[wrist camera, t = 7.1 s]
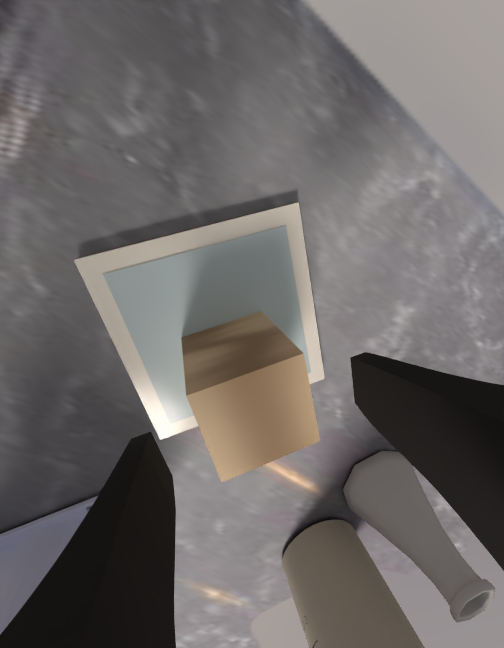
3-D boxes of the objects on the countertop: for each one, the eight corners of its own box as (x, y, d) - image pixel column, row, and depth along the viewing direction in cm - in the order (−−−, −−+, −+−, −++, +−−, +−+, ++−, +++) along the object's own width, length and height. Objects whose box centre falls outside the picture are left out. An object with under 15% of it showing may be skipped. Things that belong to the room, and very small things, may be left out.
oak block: (206, 404, 18) (221, 482, 13) (181, 337, 16) (186, 395, 11) (277, 377, 19) (320, 441, 13) (261, 311, 17) (303, 353, 12)
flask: (345, 457, 25) (444, 591, 16) (411, 440, 27) (535, 552, 18) (337, 513, 27) (419, 657, 18) (399, 495, 29) (501, 618, 20)
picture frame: (160, 431, 19) (160, 441, 18) (78, 258, 14) (72, 260, 13) (319, 373, 21) (325, 379, 20) (293, 203, 16) (299, 202, 15)
